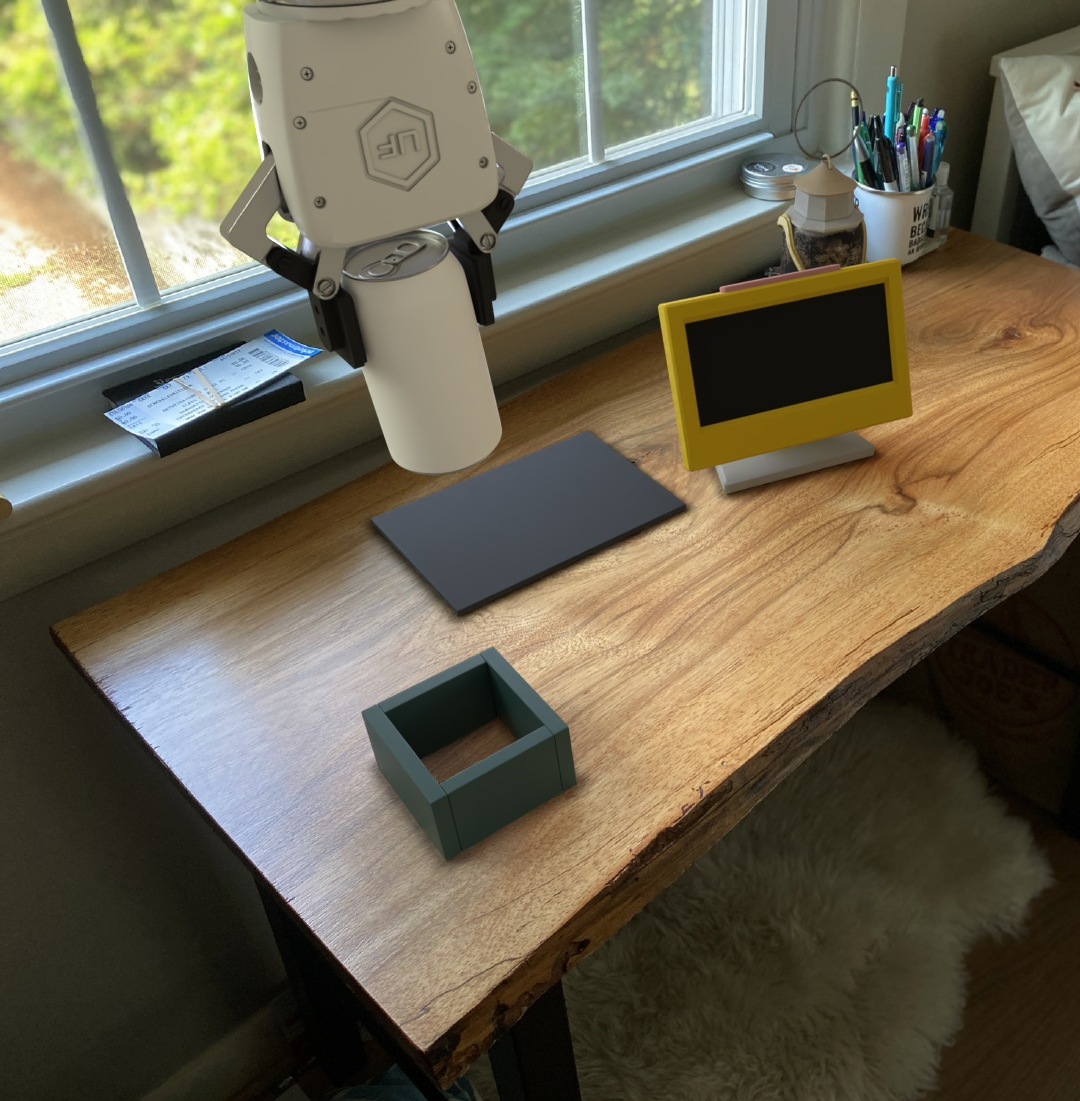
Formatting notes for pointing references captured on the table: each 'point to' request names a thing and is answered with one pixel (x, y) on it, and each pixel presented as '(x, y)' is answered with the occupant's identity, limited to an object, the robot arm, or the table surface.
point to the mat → (524, 520)
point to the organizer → (491, 784)
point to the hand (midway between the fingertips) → (414, 334)
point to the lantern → (823, 214)
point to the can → (423, 352)
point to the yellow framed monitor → (787, 370)
